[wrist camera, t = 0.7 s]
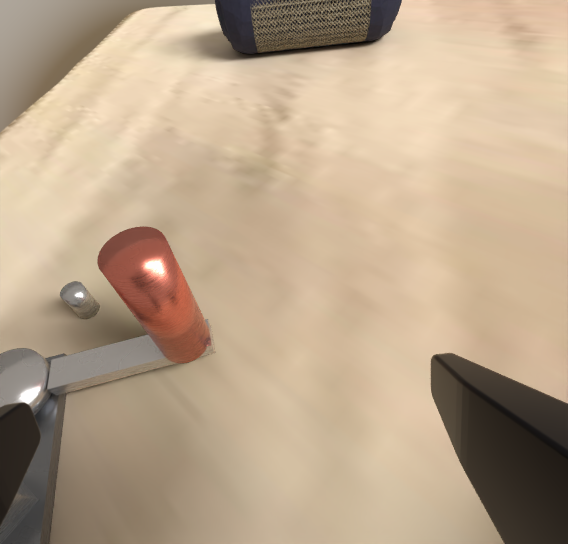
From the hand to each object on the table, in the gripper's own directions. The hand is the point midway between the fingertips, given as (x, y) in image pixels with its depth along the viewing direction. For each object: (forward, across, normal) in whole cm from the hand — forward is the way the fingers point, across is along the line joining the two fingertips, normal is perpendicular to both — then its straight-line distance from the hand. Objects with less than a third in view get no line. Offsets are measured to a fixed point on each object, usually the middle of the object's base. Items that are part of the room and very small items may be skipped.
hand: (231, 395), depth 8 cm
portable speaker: (+56, -8, -18) cm, 59 cm away
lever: (+14, +13, +7) cm, 21 cm away
